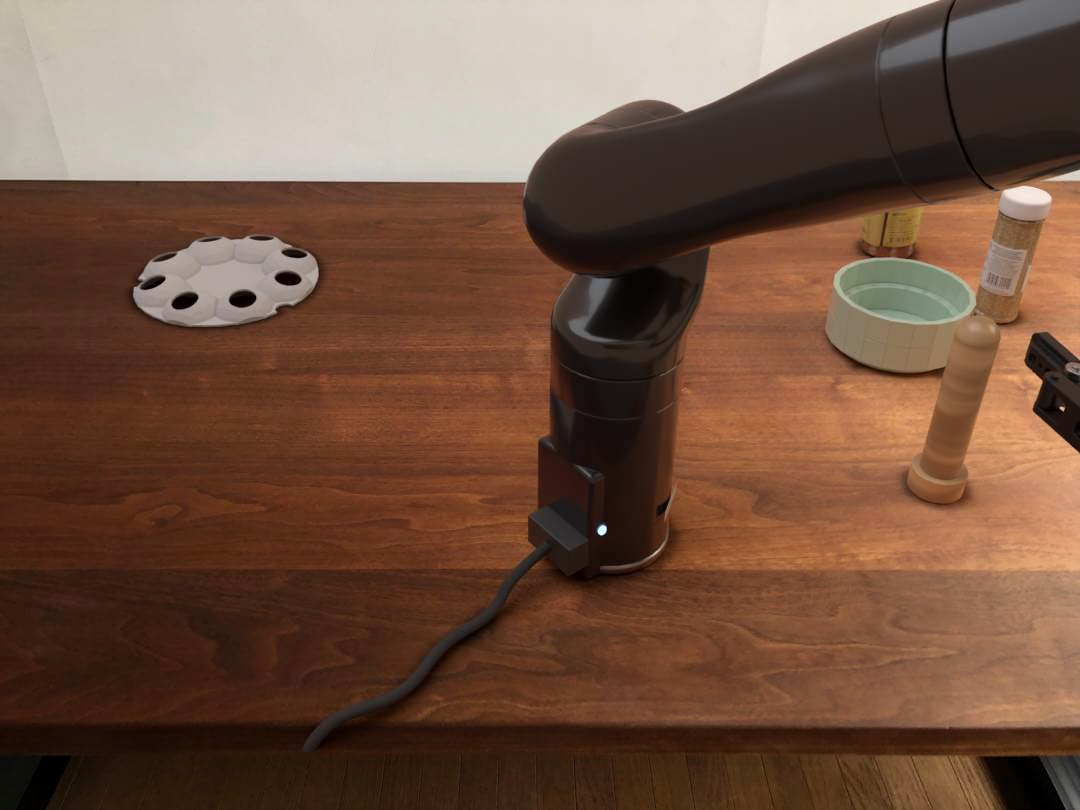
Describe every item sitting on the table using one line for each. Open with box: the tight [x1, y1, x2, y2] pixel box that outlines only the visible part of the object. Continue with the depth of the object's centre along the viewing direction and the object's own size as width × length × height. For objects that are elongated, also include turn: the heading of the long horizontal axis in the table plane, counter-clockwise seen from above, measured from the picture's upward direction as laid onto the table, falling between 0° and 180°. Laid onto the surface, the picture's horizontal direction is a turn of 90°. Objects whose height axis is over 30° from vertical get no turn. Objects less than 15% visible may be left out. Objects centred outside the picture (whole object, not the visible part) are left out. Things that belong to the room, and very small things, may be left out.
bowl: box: [824, 257, 976, 374], centre depth 103 cm, size 13×13×6 cm
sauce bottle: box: [860, 206, 924, 259], centre depth 116 cm, size 7×6×20 cm
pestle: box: [906, 314, 1002, 505], centre depth 82 cm, size 4×4×16 cm
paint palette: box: [132, 233, 320, 328], centre depth 114 cm, size 20×20×2 cm
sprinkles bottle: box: [974, 185, 1053, 324], centre depth 106 cm, size 5×5×14 cm
